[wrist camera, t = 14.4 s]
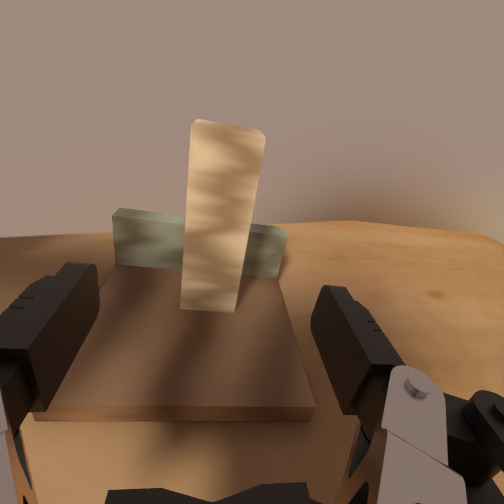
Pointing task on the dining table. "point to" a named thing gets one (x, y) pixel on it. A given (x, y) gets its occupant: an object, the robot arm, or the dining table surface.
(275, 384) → the floor board
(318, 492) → the dining table surface
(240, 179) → the batten
